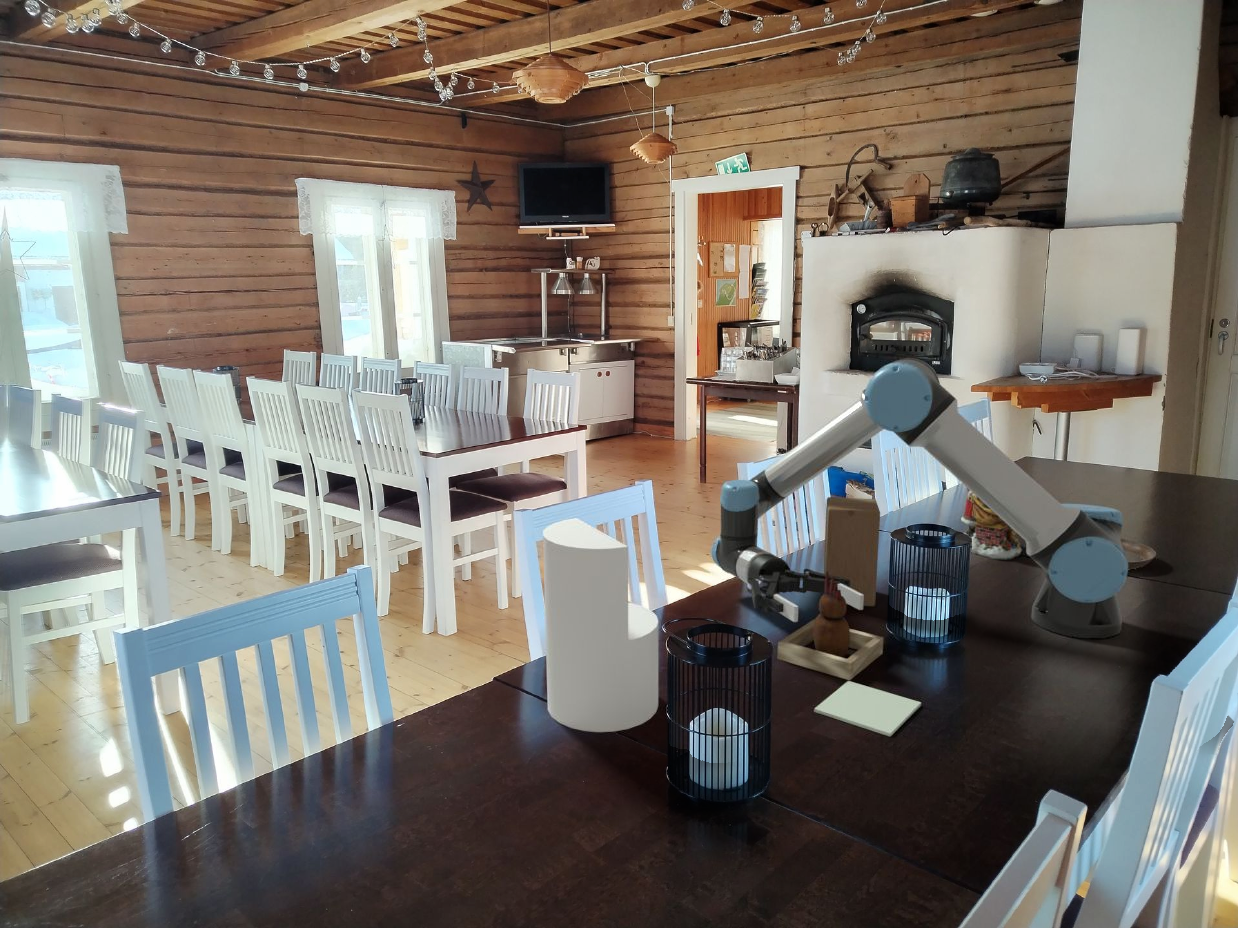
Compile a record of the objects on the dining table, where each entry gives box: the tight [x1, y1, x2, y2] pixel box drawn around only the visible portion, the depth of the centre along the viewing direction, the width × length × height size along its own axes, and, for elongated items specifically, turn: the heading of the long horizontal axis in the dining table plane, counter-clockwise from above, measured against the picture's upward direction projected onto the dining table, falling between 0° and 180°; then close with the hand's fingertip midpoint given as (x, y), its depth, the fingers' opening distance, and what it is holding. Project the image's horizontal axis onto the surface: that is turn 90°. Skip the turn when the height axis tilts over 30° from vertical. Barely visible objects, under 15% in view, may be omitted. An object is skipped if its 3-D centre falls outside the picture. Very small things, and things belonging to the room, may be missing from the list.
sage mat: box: [813, 680, 922, 737], centre depth 135 cm, size 12×12×1 cm
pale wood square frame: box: [776, 619, 884, 681], centre depth 153 cm, size 13×13×3 cm
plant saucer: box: [1121, 538, 1157, 570], centre depth 204 cm, size 21×21×3 cm
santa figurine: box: [960, 487, 1023, 560], centre depth 210 cm, size 17×14×25 cm
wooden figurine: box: [813, 571, 850, 658], centre depth 152 cm, size 7×6×15 cm
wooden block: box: [823, 496, 881, 607], centre depth 179 cm, size 10×10×20 cm
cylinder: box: [542, 517, 659, 733], centre depth 134 cm, size 17×17×28 cm
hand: (829, 608), depth 151 cm, fingers open, 13 cm apart
